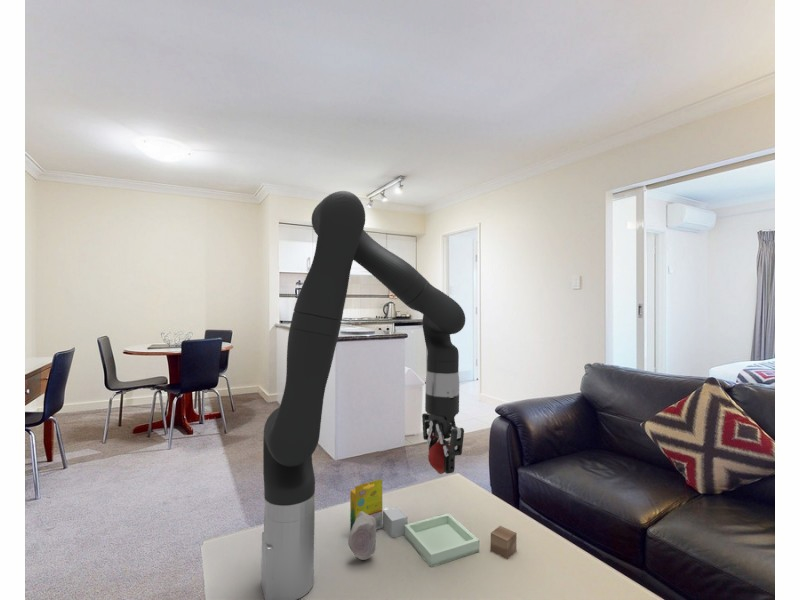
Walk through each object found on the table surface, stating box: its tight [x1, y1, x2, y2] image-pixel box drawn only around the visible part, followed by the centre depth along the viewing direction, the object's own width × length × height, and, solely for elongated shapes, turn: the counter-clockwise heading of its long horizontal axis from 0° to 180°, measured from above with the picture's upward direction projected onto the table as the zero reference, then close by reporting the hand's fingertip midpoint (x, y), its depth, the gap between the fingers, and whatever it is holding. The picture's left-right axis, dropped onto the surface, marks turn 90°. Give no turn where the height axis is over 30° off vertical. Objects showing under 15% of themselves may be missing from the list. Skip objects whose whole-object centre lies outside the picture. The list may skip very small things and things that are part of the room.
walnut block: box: [489, 525, 517, 560], centre depth 87 cm, size 4×4×4 cm
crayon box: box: [349, 478, 383, 532], centre depth 94 cm, size 7×3×12 cm, turn 123°
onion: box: [427, 439, 450, 475], centre depth 89 cm, size 6×6×8 cm
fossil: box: [347, 511, 377, 561], centre depth 83 cm, size 6×4×10 cm, turn 105°
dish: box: [403, 513, 480, 568], centre depth 89 cm, size 12×12×2 cm
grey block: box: [382, 506, 409, 539], centre depth 94 cm, size 4×5×4 cm
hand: (441, 466), depth 89 cm, fingers closed on onion, 6 cm apart
